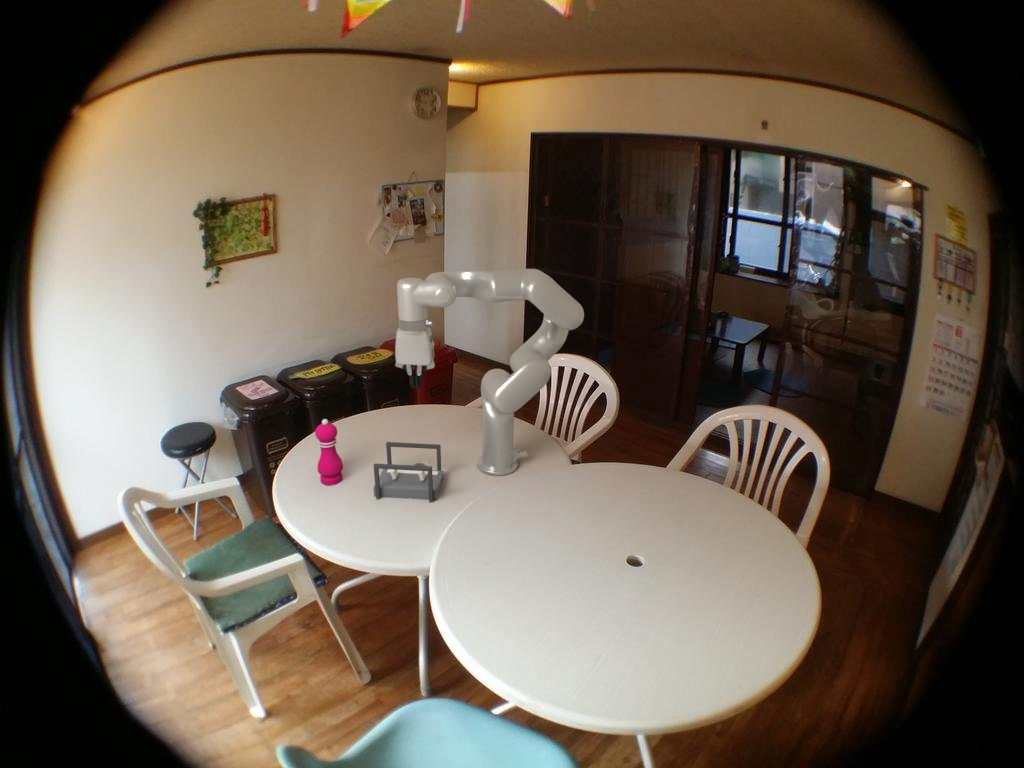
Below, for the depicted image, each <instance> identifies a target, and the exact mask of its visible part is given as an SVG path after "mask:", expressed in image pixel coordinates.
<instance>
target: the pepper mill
mask: <svg viewBox="0 0 1024 768" xmlns="http://www.w3.org/2000/svg"><path fill="white" fill-rule="evenodd" d="M314 435H315V438H316V439H317V440H318V441H317V442H318V443H317V444H318V445H317V446H319V448H320V457H319V459H318V462H317V473H319V475H320V476H319V479H320V483H321V484H322V485H325V486H334V485H338V484H340V483H341V482H342V481H343V480H344V479H343V477H344V476H343V472H342V471H343V470H344V469H343V468H344V463H343V461H342V459H341V457H340V455H339V454H338V451H337V449H336V448H337V447H336V445H337V438H336V437H337V435H338V429H337V427H336V425H334V424H333V423H331V422H329V420H328V419H327V418H323V419H322V420H321V423H320V424H319V425H318V426H317V427H316V428H315V433H314Z"/></svg>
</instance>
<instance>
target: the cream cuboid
mask: <svg viewBox="0 0 1024 768" xmlns="http://www.w3.org/2000/svg"><path fill="white" fill-rule="evenodd" d="M418 475H419V478H420V481H423V480H424V479H425V476H426V474H425V471H419V473H418Z"/></svg>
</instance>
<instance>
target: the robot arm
mask: <svg viewBox="0 0 1024 768" xmlns="http://www.w3.org/2000/svg"><path fill="white" fill-rule="evenodd" d="M396 292H397V293H396V295H397V312H398V326H399V327H398V328H397V329H396V336H395V346H394V347H395V349H394V350H395V354H394V356H395V357H394V358H395V365H394V366H395V367H396V368H400V369H403V370H404V372H405V373H407V376H409V377H408V378H409V380H408V381H409V385H410V387H411V389H417V390H419V389H420V387H421V386H422V384H423V373H425V372H426V370H431V369H434V368H435V366H436V363H435V362H434V361H435V360H434V359H435V350H434V349H435V348H434V339H433V335H432V330H431V328H430V327H433V320H429V319H428V315H427V311H428V310H427V307H428V308H429V307H431V308H441V309H443V308H447V307H449V306H451V305H453V304H454V303H455V300H456V298H458V297H461V298H473V299H477V300H480V301H483V302H486V303H487V302H488V303H502V302H503V303H504V302H505V303H506V302H513V301H514V302H515V301H525V300H527V301H529V302H530V303H531V304H533V305H534V306H535V307H536V308H537V309H538V310H539V311H540V312H541V313H543V320H542V323H541V325H540V327H539V328H538V329H537V330H536V332H535V333H534V334H533V335H532V336H531V337H529V338H528V339H527V340H526V341H525V342H524V343H523V344H522V345H521V346H519V347H518V348H517V349H516V350H515V351H514V352H513V353H512V355H511V356H510V358H509V367H510V368H511V370H512V372H513V373H511V374H510V373H509V372H508V371H506V370H504V369H502V368H493V369H490V370H488V371H487V372H486V373H485V374H484V375H483V377H482V379H481V382H480V394H481V407H482V408H481V409H482V456H480V457H479V458H478V460H477V467H478V469H479V470H480V471H481V472H483V473H484V474H487V475H490V476H506V475H509V474H511V473H514V471H516V470H517V468H518V463H519V462H518V460H519V459H523V458H528V452H527V450H525V451H521V449H520V448H518V449H517V448H516V449H514V433H515V432H514V430H515V429H514V426H515V424H514V423H515V412H517V411H518V410H519V409H521V408H522V407H523V406H524V405H525V404H527V403H528V402H529V401H531V399H532V398H533V397H534V396H536V395H537V393H539V392H540V391H541V390H542V389H543V388H544V387H545V386H546V384H547V383H548V382H549V380H550V378H551V374H552V368H551V365H550V362H549V360H551V358H553V357H554V356H555V355H556V353H558V352H559V350H560V349H561V348H562V347H563V345H564V344H565V342H566V340H567V337H568V335H569V331H573V330H576V329H577V328H578V327H580V326H581V325H582V324H583V322H584V318H585V312H584V308H583V306H582V305H581V304H580V302H578V301H577V300H576V299H575V298H574V297H572V295H571V294H569V292H567V291H566V290H565V289H564V288H562V286H560V285H559V284H558V283H557V282H556V281H555V280H554V279H553V278H552V277H551V276H550V275H548V274H546V273H544V272H543V271H541V270H539V269H536V268H523V269H522V268H521V269H520V268H518V269H509V270H508V269H507V270H506V269H505V270H491V271H489V270H451V271H450V270H449V271H438V272H432V273H431V274H429V275H428V276H426V278H425V279H424V280H423V279H422V278H419V277H404V278H401V279H399V280H398V281H397V283H396ZM414 366H417V367H416V371H415V369H414Z"/></svg>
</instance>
